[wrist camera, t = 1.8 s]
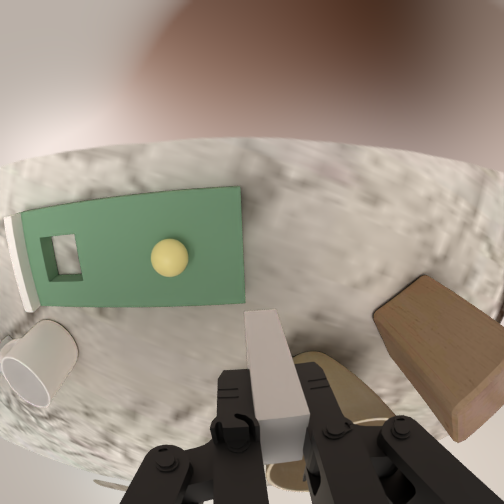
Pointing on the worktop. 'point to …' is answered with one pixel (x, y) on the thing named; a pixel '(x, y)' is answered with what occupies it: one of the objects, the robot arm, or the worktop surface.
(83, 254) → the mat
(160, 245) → the ball
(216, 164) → the worktop surface
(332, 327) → the worktop surface
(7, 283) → the worktop surface
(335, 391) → the plant pot
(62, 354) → the mug
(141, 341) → the worktop surface
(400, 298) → the wooden block
